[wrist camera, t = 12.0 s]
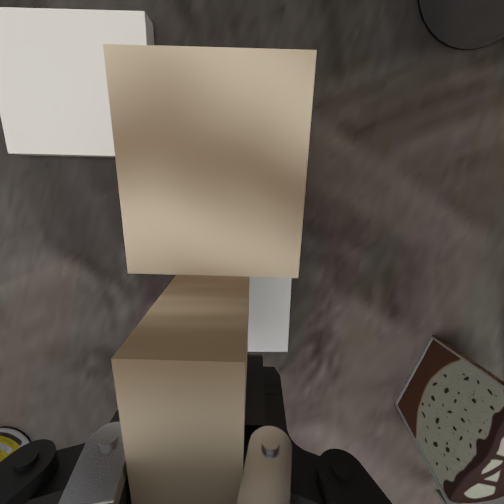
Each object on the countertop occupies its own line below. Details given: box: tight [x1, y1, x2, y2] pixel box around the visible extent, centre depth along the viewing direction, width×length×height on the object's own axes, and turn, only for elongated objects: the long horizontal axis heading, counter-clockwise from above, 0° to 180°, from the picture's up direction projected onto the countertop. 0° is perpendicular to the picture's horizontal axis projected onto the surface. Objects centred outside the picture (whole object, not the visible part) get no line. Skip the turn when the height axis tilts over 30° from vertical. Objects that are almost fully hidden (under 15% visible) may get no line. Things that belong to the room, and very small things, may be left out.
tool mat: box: [248, 277, 292, 352], centre depth 25 cm, size 10×23×1 cm, turn 179°
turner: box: [103, 44, 317, 504], centre depth 9 cm, size 20×7×6 cm, turn 178°
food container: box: [395, 336, 504, 504], centre depth 25 cm, size 12×6×10 cm, turn 163°
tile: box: [0, 7, 154, 157], centre depth 22 cm, size 12×2×10 cm
